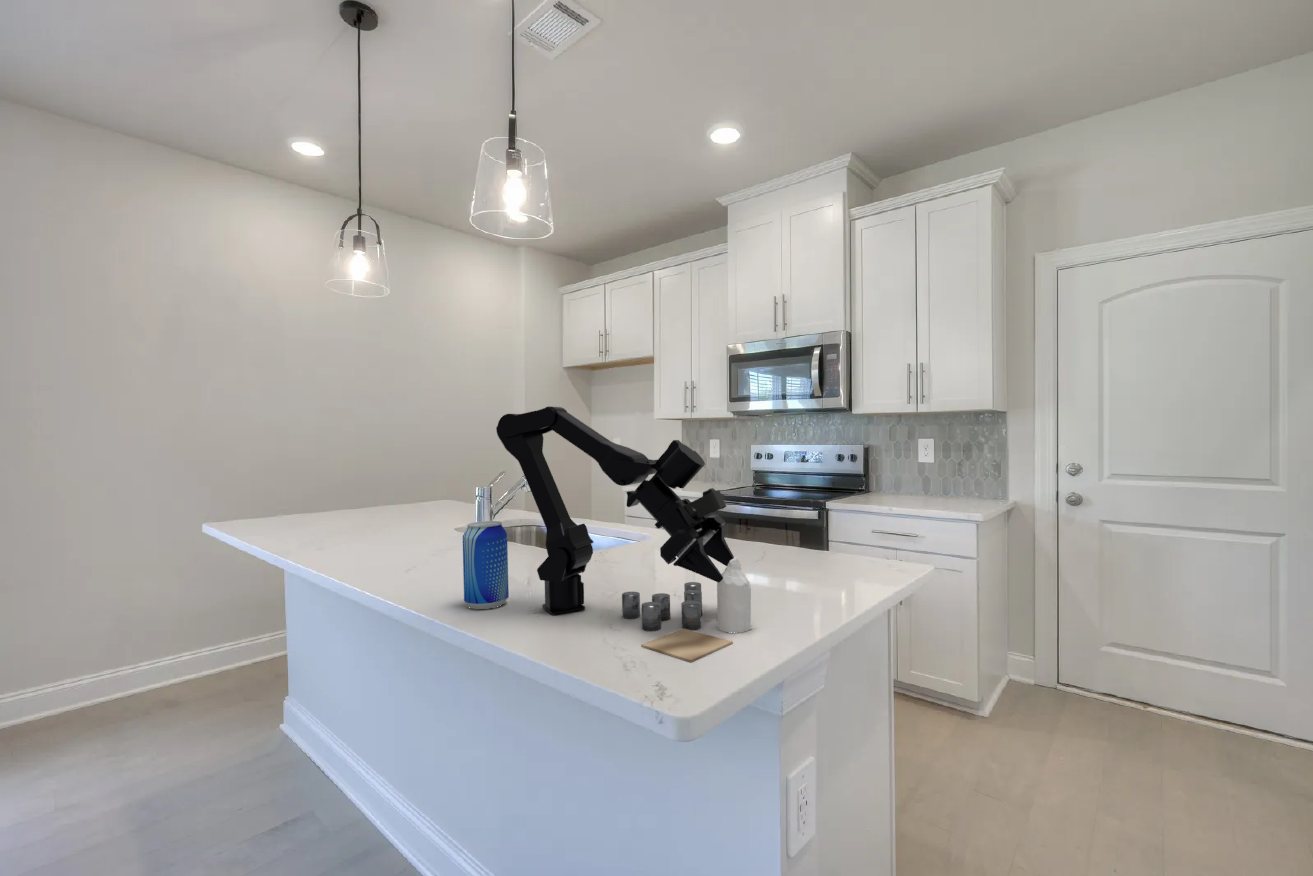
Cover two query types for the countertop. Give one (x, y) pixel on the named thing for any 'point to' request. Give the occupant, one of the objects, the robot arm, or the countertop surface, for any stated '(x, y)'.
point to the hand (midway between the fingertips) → (729, 574)
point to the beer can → (485, 565)
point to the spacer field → (665, 608)
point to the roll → (734, 599)
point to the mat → (687, 644)
